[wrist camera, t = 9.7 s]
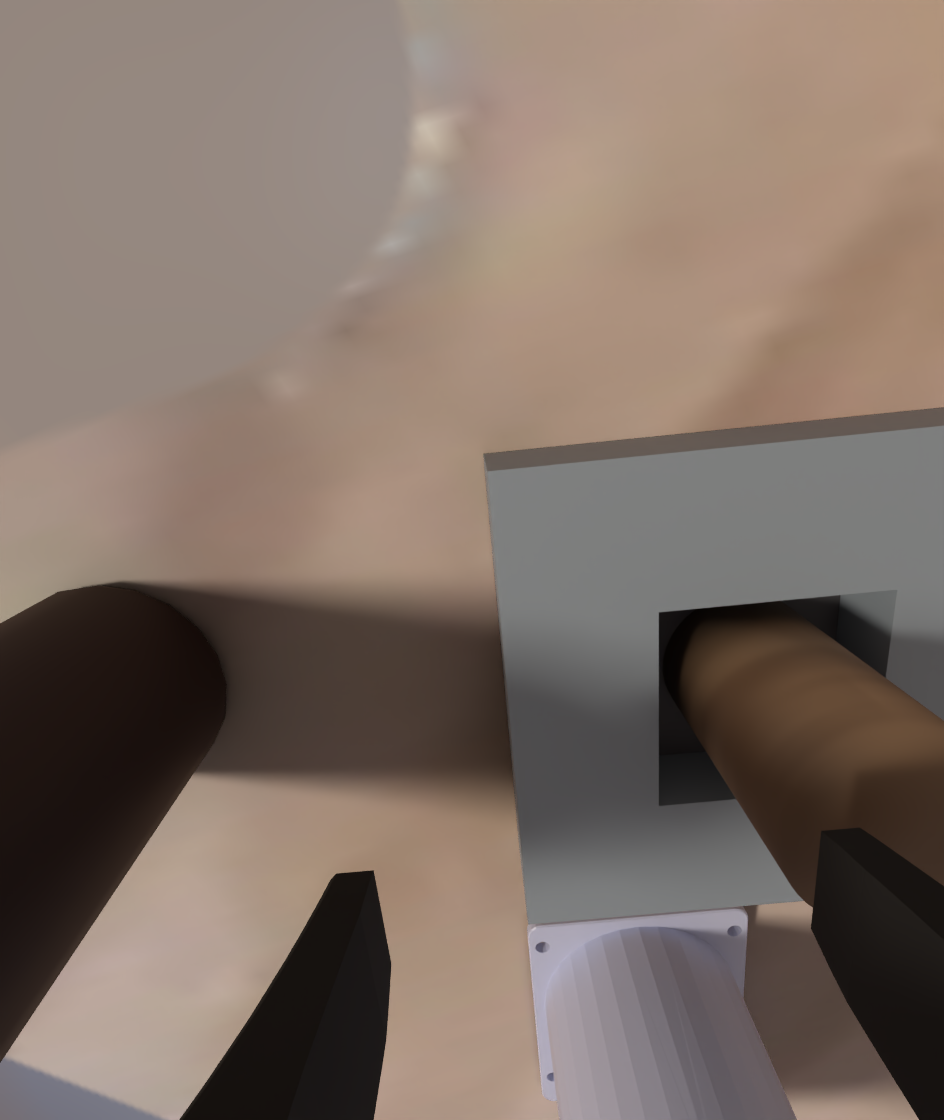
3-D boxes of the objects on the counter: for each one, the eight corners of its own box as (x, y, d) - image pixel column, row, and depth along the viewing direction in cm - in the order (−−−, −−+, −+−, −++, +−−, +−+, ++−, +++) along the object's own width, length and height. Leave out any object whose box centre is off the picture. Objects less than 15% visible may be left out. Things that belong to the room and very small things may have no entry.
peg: (799, 719, 19) (988, 916, 12) (659, 727, 19) (770, 929, 12) (818, 588, 17) (1042, 729, 11) (666, 597, 17) (795, 743, 11)
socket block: (917, 813, 21) (989, 884, 18) (519, 849, 21) (528, 924, 18) (984, 403, 16) (1094, 410, 14) (483, 454, 17) (487, 471, 14)
